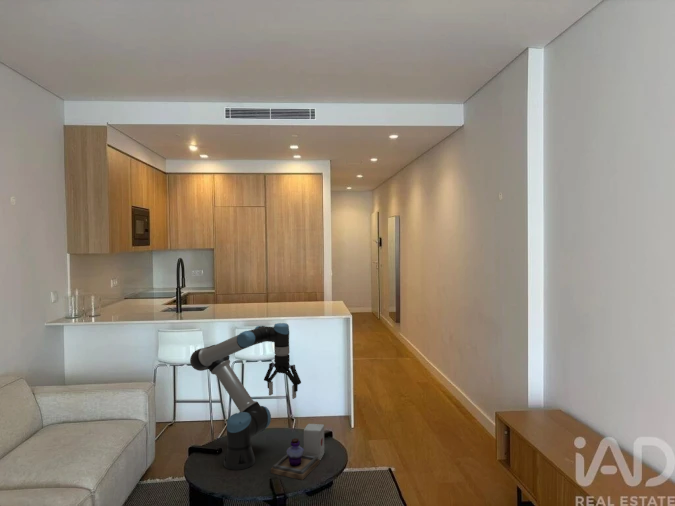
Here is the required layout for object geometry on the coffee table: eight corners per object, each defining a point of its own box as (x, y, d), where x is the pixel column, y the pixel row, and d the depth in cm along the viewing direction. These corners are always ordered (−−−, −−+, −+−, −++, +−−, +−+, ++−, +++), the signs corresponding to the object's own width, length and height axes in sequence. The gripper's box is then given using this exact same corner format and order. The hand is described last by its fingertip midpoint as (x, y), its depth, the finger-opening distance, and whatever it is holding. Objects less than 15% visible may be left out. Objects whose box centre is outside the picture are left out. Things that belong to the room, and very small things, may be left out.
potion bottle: (302, 458, 229) (302, 434, 229) (306, 466, 221) (305, 441, 221) (285, 461, 227) (284, 436, 227) (288, 469, 219) (287, 443, 218)
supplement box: (320, 460, 231) (320, 431, 231) (303, 459, 233) (303, 429, 233) (324, 452, 240) (324, 424, 240) (308, 451, 242) (307, 423, 242)
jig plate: (270, 473, 219) (270, 466, 219) (289, 457, 236) (289, 451, 236) (302, 479, 212) (302, 473, 212) (319, 463, 229) (319, 456, 229)
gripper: (256, 354, 235) (257, 395, 235) (300, 358, 225) (300, 401, 225) (264, 350, 242) (265, 391, 242) (307, 354, 232) (307, 397, 232)
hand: (282, 396), depth 233 cm, fingers open, 13 cm apart
